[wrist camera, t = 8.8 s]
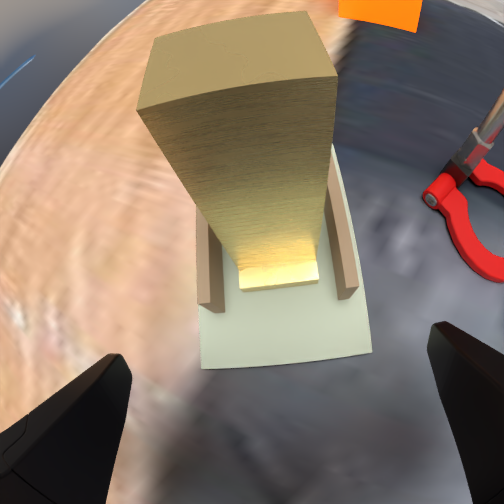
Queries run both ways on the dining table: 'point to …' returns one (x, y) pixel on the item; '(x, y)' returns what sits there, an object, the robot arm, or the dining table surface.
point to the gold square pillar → (249, 136)
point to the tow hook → (455, 204)
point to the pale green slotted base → (284, 300)
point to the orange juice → (383, 12)
